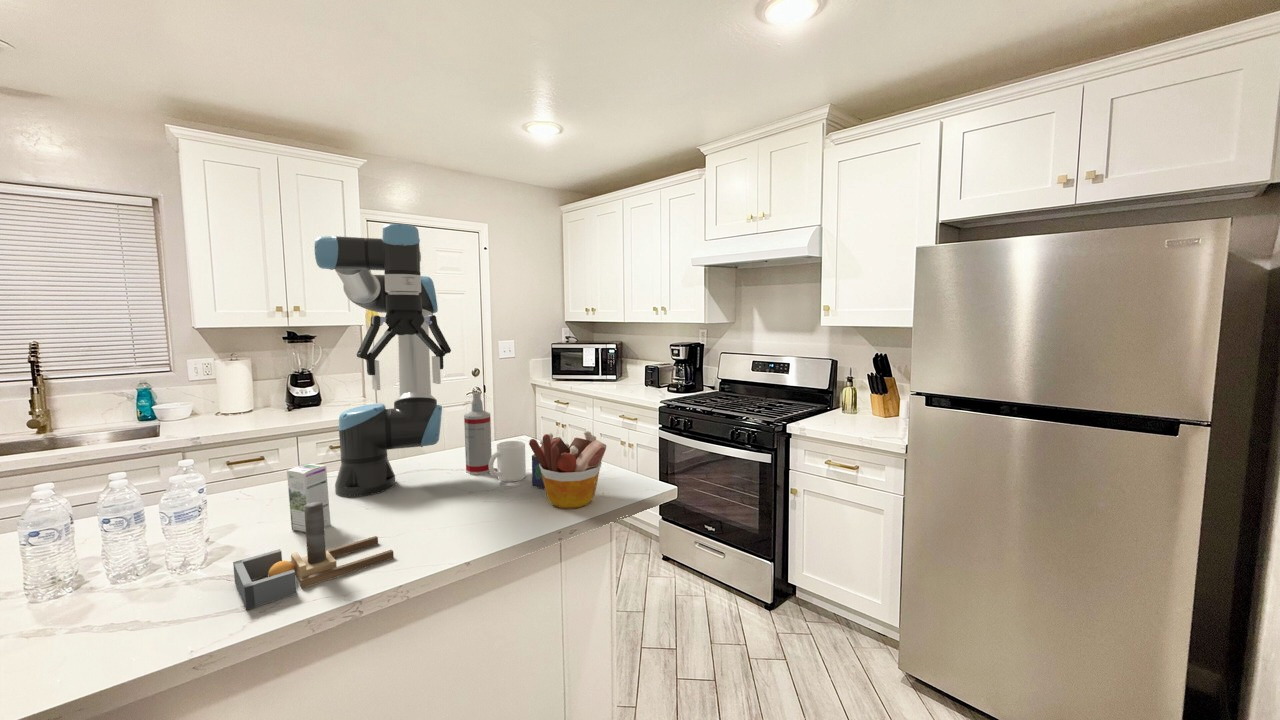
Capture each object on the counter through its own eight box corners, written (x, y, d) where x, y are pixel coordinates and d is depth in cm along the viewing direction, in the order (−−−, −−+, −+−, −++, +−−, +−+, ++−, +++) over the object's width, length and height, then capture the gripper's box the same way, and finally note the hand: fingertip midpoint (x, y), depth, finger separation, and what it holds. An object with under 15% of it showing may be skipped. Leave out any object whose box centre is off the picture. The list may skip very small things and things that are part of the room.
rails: (289, 569, 99) (288, 561, 99) (376, 542, 111) (376, 535, 111) (301, 588, 92) (301, 580, 92) (393, 558, 104) (393, 551, 104)
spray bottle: (461, 474, 157) (458, 394, 154) (473, 466, 164) (470, 390, 162) (485, 475, 156) (482, 394, 153) (496, 468, 163) (493, 390, 160)
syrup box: (331, 524, 120) (328, 464, 119) (308, 534, 115) (304, 472, 113) (314, 521, 122) (310, 462, 121) (290, 531, 117) (285, 469, 115)
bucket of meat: (572, 485, 147) (571, 417, 145) (617, 497, 138) (617, 424, 136) (519, 506, 131) (517, 430, 129) (566, 522, 121) (565, 440, 119)
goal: (234, 582, 94) (233, 562, 94) (281, 568, 100) (280, 549, 99) (246, 610, 86) (244, 587, 85) (296, 593, 91) (295, 571, 90)
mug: (497, 487, 145) (496, 452, 144) (481, 481, 151) (480, 447, 150) (531, 477, 154) (530, 443, 153) (515, 471, 160) (514, 439, 159)
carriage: (292, 569, 99) (287, 504, 97) (327, 559, 103) (323, 496, 101) (300, 583, 94) (296, 515, 92) (337, 571, 98) (333, 506, 97)
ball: (281, 553, 96) (296, 566, 98) (260, 570, 94) (276, 583, 96) (286, 560, 93) (301, 573, 95) (265, 578, 91) (281, 591, 93)
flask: (560, 488, 144) (560, 451, 143) (554, 491, 142) (553, 454, 141) (535, 483, 149) (534, 447, 148) (529, 486, 146) (528, 449, 145)
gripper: (348, 292, 105) (353, 394, 107) (463, 294, 122) (466, 382, 124) (337, 293, 110) (342, 390, 112) (449, 295, 128) (452, 379, 130)
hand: (407, 386), depth 118 cm, fingers open, 13 cm apart
